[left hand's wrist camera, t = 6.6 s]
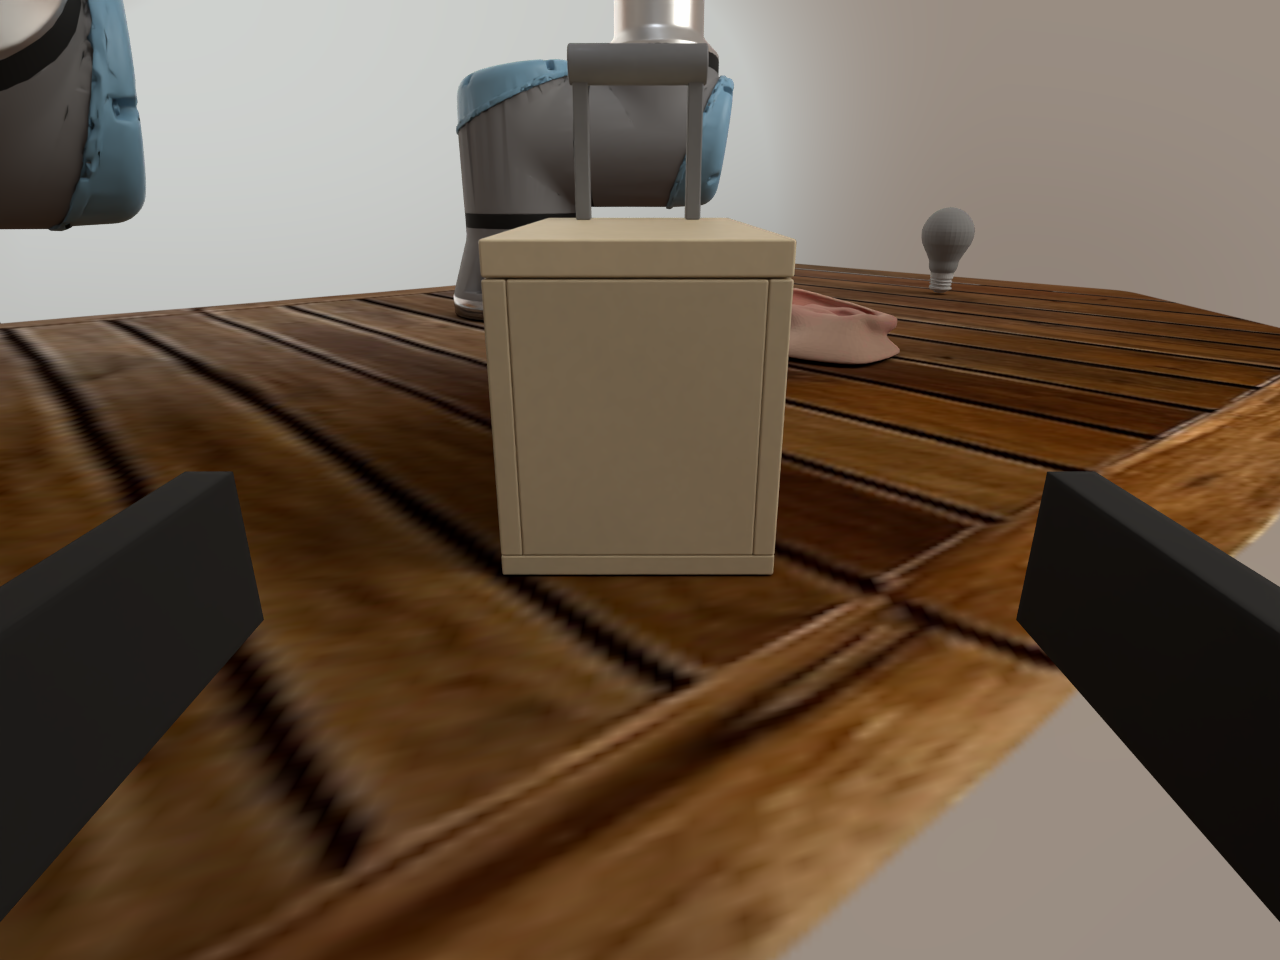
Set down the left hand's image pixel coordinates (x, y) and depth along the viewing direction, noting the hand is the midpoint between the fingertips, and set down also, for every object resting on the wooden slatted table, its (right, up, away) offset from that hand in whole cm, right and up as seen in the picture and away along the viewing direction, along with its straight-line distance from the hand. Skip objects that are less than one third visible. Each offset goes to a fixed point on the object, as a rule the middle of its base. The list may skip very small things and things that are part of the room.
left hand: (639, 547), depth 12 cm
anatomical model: (+15, +12, +50) cm, 53 cm away
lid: (0, +10, +18) cm, 21 cm away
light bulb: (+38, +25, +82) cm, 93 cm away
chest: (0, +1, +21) cm, 21 cm away
